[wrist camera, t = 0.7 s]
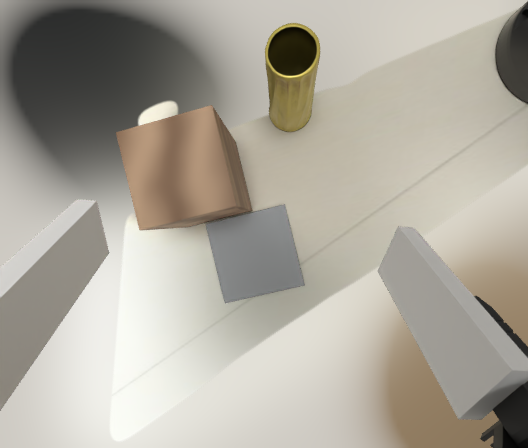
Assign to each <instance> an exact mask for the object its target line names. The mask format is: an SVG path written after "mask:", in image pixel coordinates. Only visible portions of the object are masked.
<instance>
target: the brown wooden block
mask: <svg viewBox="0 0 528 448" xmlns="http://www.w3.org/2000/svg"><path fill="white" fill-rule="evenodd" d="M116 135H117V138H118V143H119V147H120V151H121V155H122V159H123V164H124V167H125V172H126V176H127V180H128V184H129V188H130V192H131V197H132V201H133V205H134V209H135V213H136V217H137V221H138V226H139V230H153V229H168V228H183V227H189V226H193V225H197V224H201V223H205V222H209V221H213V220H217V219H221V218H225V217H229V216H233V215H237V214H241V213H245V212H249V211H252V207H251V203H250V198H249V194H248V190H247V186H246V182H245V178H244V174H243V170H242V166H241V162H240V158H239V154H238V150H237V146H236V142H235V140H234V139H233V137H232V136H231V134H230V132H229V131H228V129H227V128H226V126H225V125H224V124H223V122H222V120H221V118H220V117H219V115H218V114H217V112H216V111H215V109H214V108H213V106H212V105H210V106H207V107H203V108H200V109H197V110H193V111H190V112H186V113H182V114H179V115H175V116H172V117H168V118H165V119H162V120H158V121H155V122H151V123H148V124H144V125H141V126H137V127H134V128H130V129H127V130H123V131H120V132H116Z"/></svg>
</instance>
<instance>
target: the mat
mask: <svg viewBox="0 0 528 448" xmlns="http://www.w3.org/2000/svg"><path fill="white" fill-rule="evenodd" d="M206 228H207V232H208V236H209V240H210V244H211V248H212V252H213V256H214V261H215V265H216V269H217V273H218V277H219V281H220V285H221V289H222V293H223V297H224V301H225V303H228V302H233V301H237V300H242V299H246V298H250V297H255V296H259V295H264V294H268V293H273V292H277V291H281V290H286V289H290V288H295V287H299V286H304V281H303V277H302V273H301V268H300V264H299V260H298V256H297V252H296V248H295V244H294V240H293V236H292V232H291V228H290V224H289V220H288V216H287V212H286V208H285V204H284V205H280V206H276V207H272V208H268V209H264V210H260V211H256V212H252V213H248V214H244V215H240V216H236V217H232V218H229V219H225V220H221V221H217V222H213V223H209V224H206Z"/></svg>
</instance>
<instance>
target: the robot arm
mask: <svg viewBox="0 0 528 448" xmlns="http://www.w3.org/2000/svg"><path fill="white" fill-rule="evenodd" d="M496 61H497V67H498V70H499V73H500V76H501V78H502V80H503V81H504V83H505V85H506V86H507V87H508V88H509V90H510V91H511V92H512V93H513V94H515V95H516V96H517V97H518V98H520V99H521V100H523V101H525V102H527V103H528V2H527V3H525V4H524V5H523V6H522V7H521V8H520V9H519V10H518V11H516V12H515V13H514V14H513V15H512V16H511V18H510V19H509V20H508V21H507V23H506V24H505V26H504V28H503V29H502V31H501V34H500V36H499V39H498V43H497V49H496ZM108 254H109V250H108V246H107V242H106V238H105V233H104V230H103V225H102V221H101V217H100V212H99V208H98V204H97V201H92V200H80V199H77V200H76V201H75V202H74V203H72V204H71V205H70V206H69V207H68V208H67V209H66V210H65V211H63V212H62V213H61V214H60V215H59V216H58V217H57V218H55V219H54V221H52V222H51V223H50V224H49V225H48V226H46V227H45V228H44V229H43V230H42V231H41V232H40V233H39V234H37V235H36V236H35V237H34V238H33V239H32V240H31V241H30V242H28V243H27V244H26V245H25V246H24V247H23V248H22V249H20V250H19V251H18V252H17V253H16V254H15V255H14V256H13V257H12V258H10V259H9V260H8V261H7V262H6V263H5V264H3V266H1V267H0V411H1V409H2V408H3V406H4V404H5V403H6V402H7V400H8V399H9V397H10V396H11V395H12V393H13V392H14V390H15V389H16V387H17V386H18V384H19V383H20V381H21V380H22V379H23V377H24V376H25V374H26V373H27V371H28V370H29V368H30V367H31V365H32V364H33V363H34V361H35V360H36V358H37V357H38V355H39V354H40V352H41V351H42V350H43V348H44V347H45V345H46V344H47V342H48V341H49V339H50V338H51V336H52V335H53V334H54V332H55V330H56V329H57V328H58V326H59V325H60V323H61V322H62V320H63V319H64V317H65V316H66V315H67V313H68V312H69V310H70V309H71V307H72V306H73V305H74V303H75V301H76V300H77V299H78V297H79V295H80V294H81V293H82V291H83V290H84V289H85V287H86V285H87V284H88V283H89V281H90V280H91V278H92V277H93V275H94V274H95V273H96V271H97V270H98V268H99V267H100V265H101V264H102V262H103V261H104V259H105V258H106V257H107V255H108ZM378 273H379V275H380V276H381V278H382V280H383V282H384V284H385V286H386V287H387V289H388V291H389V293H390V294H391V297H392V298H393V300H394V302H395V304H396V306H397V307H398V309H399V311H400V313H401V315H402V316H403V319H404V320H405V322H406V324H407V326H408V328H409V329H410V331H411V333H412V335H413V337H414V338H415V340H416V342H417V344H418V346H419V348H420V349H421V351H422V353H423V355H424V357H425V359H426V361H427V362H428V364H429V366H430V368H431V370H432V371H433V373H434V375H435V377H436V379H437V381H438V383H439V384H440V386H441V388H442V390H443V392H444V394H445V395H446V397H447V399H448V401H449V403H450V404H451V406H452V408H453V410H454V412H455V414H456V415H457V417H458V419H475V420H481V419H483V418H484V417H485V416H486V415H487V414H489V413H490V412H491V411H492V410H493V411H494V412H495V414H496V415H497V417H498V418H499V421H498V422H496V423H495V424H494V425H493V426H491V427H490V428H489V429H487V430H486V431H485V432H484V433H482V436H481V438H480V439H481V440H483V441H486V440H487V439H489V438H490V437H491V436H494V442H493V443H492V444H491V447H493V448H528V347H527V346H526V344H525V343H523V341H522V340H521V339H520V338H519V337H518V336H517V335H516V334H514V333H513V330H512V329H511V328H510V327H509V326H508V325H507V323H504V322H503V319H502V318H501V317H500V316H499V315H498V313H497V312H496V311H495V310H494V309H493V308H492V307H491V306H489V305H488V304H487V303H485V302H484V301H483V300H481V299H480V298H479V297H477V296H473V295H472V294H471V293H470V292H469V290H468V289H467V288H466V287H465V286H464V285H463V283H462V282H461V281H460V280H459V279H458V278H457V276H456V275H455V274H454V273H453V272H452V271H451V270H450V268H449V267H448V266H447V265H446V264H445V263H444V262H443V260H442V259H441V258H440V257H439V256H438V255H437V254H436V253H435V251H434V250H433V249H432V248H431V247H430V246H429V244H428V243H427V242H426V241H425V240H424V239H423V238H422V236H421V235H420V234H419V233H418V232H417V231H416V230H415V228H410V227H399V226H398V228H397V230H396V232H395V235H394V237H393V239H392V241H391V243H390V245H389V248H388V250H387V252H386V254H385V256H384V259H383V261H382V263H381V265H380V267H379V269H378Z"/></svg>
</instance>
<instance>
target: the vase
mask: <svg viewBox="0 0 528 448" xmlns="http://www.w3.org/2000/svg"><path fill="white" fill-rule="evenodd" d="M265 58H266V70H267V77H268V87H269V99H270V107H269V115H270V119H271V121H272V122H273V124H274V125H275V126H276V127H277V128H279V129H281V130H284V131H296V130H299V129H301V128H302V127H304V126H305V125H306V124H307V122H308V120H309V118H310V116H311V111H312V102H313V95H314V87H315V80H316V73H317V68H318V63H319V58H320V43H319V40H318V37H317V36H316V35H315V33H314V32H313V31H312V30H311V29H309V28H308V27H306V26H304V25H301V24H298V23H290V24H286V25H283V26H281V27H279V28H278V29H276V30H275V31H274V32H273V33H272V34H271V36H270V37H269V39H268V42H267V45H266V48H265Z"/></svg>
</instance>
